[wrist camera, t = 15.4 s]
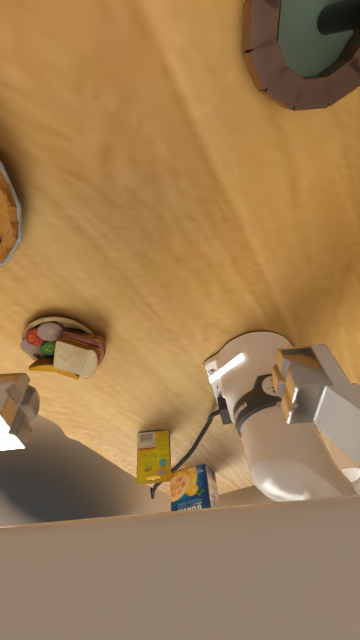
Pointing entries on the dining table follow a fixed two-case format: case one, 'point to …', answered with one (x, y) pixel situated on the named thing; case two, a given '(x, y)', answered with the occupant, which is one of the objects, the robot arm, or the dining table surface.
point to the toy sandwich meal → (63, 347)
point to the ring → (280, 81)
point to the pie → (8, 218)
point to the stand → (315, 32)
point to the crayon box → (153, 457)
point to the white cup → (342, 459)
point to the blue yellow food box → (194, 489)
